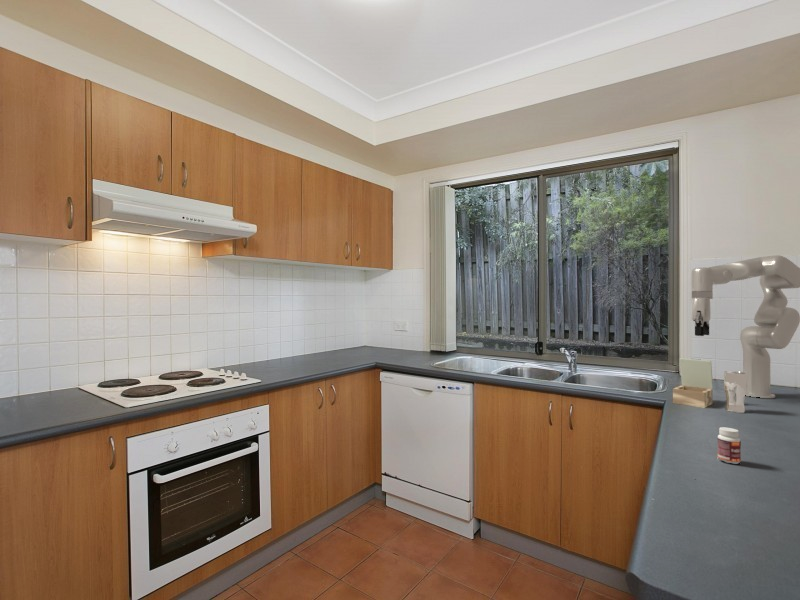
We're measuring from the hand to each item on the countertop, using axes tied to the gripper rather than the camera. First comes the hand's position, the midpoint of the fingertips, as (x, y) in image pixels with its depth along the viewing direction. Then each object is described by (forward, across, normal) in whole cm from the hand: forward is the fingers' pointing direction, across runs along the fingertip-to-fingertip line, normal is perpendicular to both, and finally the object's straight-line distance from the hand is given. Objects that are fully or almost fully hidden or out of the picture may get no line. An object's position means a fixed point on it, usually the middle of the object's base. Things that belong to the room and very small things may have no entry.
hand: (702, 335), depth 184 cm
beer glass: (+28, +16, +14) cm, 36 cm away
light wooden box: (+28, +14, 0) cm, 31 cm away
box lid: (+16, +9, 0) cm, 18 cm away
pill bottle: (+28, +85, +25) cm, 93 cm away
